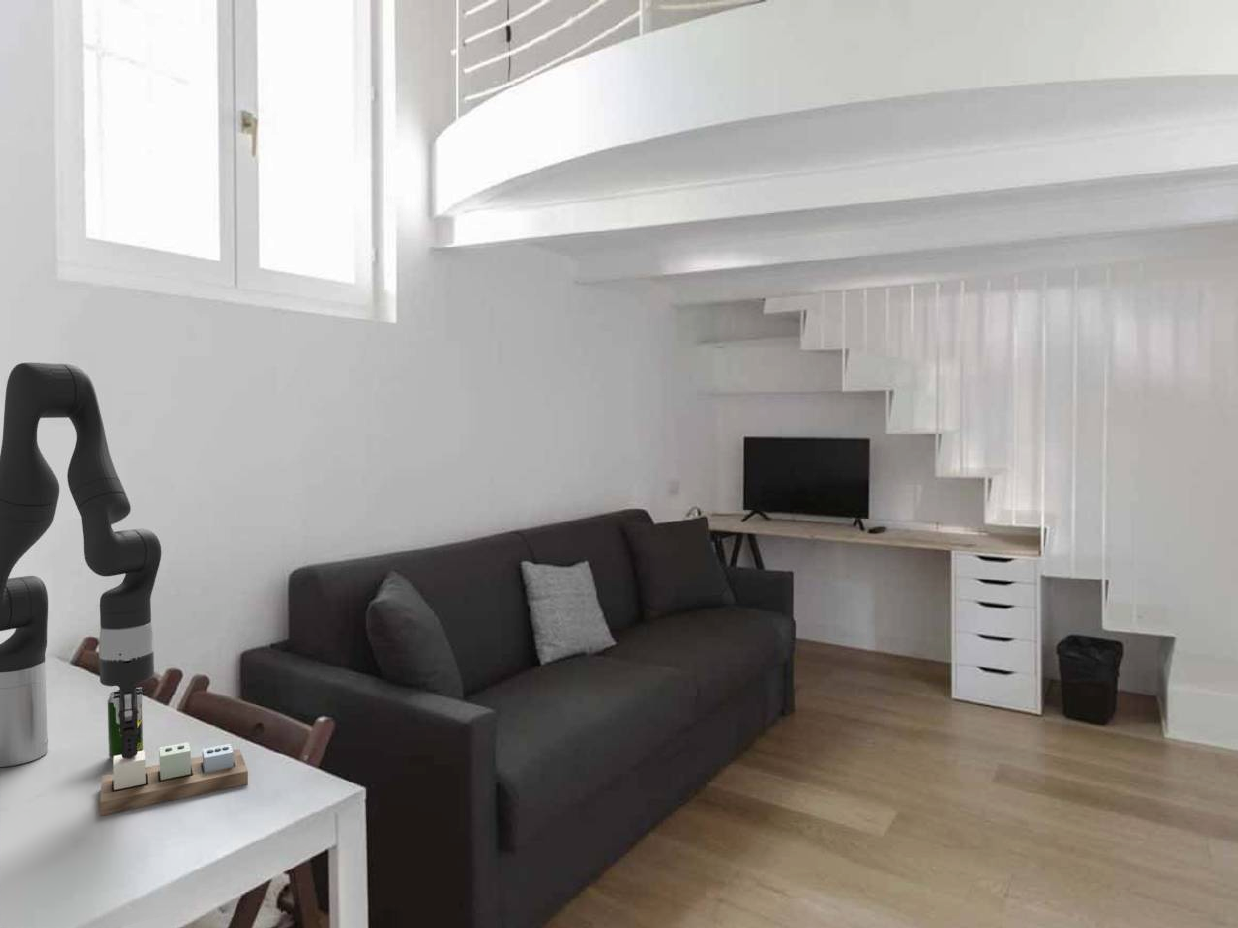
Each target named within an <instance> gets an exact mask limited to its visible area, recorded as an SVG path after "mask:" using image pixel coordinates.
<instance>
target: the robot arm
mask: <svg viewBox="0 0 1238 928" xmlns="http://www.w3.org/2000/svg"><path fill="white" fill-rule="evenodd" d="M4 399H5V400H4V409H3V410H4V414H3V427H2V441H1V449H0V632H2V631H9V630H14V632H13V633H12V635H11V636H10V637H9V638H7V639H6V640H4V641H3V642H1V643H0V768H4V767H5V768H6V767H13V766H18V765H22V764H27V763H29V762H32V761H35V760H37V759H40V758H41V757H43V756H45V755H46V754H48V751H49V737H48V733H49V732H48V703H47V701H48V700H47V699H48V697H47V671H46V669H47V668H46V667H47V665H46V662H47V661H46V653H47V652H46V651H47V647H48V627H49V626H48V623H49V622H48V621H49V620H48V619H49V595H48V589H47V586H46V584H45V582H44V581H43V580H42V579H41V578H40V577H38V576H35V575H26V576H18V577H10V575H11V572H12V570H13V568H14V567H15V566H16V564H17V563H18V561H19V560H20V559H21V558H22V557H23V556H24V554H26V553H27V551H29V550H30V549H31V548H32V547H33V546H34V545H35V544H36V543H37V542H38V541H39V540H40V539H41V537H43V536H44V534H46V532H47V531H48V530H49V529H50V527H51V525H52V524H53V522H54V519H55V515H56V511H57V505H58V502H59V501H58V500H59V496H60V484H59V480H58V479H57V476H56V474H55V473H54V470H53V469H52V467H51V466H50V465H49V463H48V461H47V460H46V458H45V457H44V455H43V453H42V452H41V449H40V447H39V443H38V428H39V423H40V420H41V419H51V418H52V419H53V418H54V419H56V418H57V419H58V418H59V419H61V418H68V419H69V420H70V421H71V423H72V425H73V427H74V429H75V433H76V442H75V447H74V448H73V449H74V450H73V452H72V455H71V459H70V460H69V461H70V462H69V464H68V469H67V476H66V477H67V479H66V480H67V485H68V488H69V492H70V494H71V496H72V499H73V501H74V503H75V506H76V508H77V511H78V513H79V515H80V518H81V525H82V535H83V538H82V539H83V555H84V561H85V563H86V565H87V567H88V568H89V569H90V570H91V571H92V573H94V574H96V575H98V576H100V577H115V576H120V575H124V577H123V580H122V582H121V583H120V584H118V586H115V587H113V588H110V589H109V590H108V589H107V591H105V592H103V593H102V594H101V596H100V599H99V617H100V628H99V630H100V632H99V638H98V639H99V640H98V651H99V653H98V656H99V660H98V661H99V682H100V683H101V684H102V685H103V686H105V687H118V688H119V689H118V690H119V691H116V690H114V707H115V708H116V723H117V724H120V728H119V734H120V736H121V753H122V758H128V757H133V756H136V755H137V733H138V731H139V728H138V721H139V720H140V719H141V703H142V704H143V688H142V687H137V685H138V684H139V683H144V682H146V681H149V680H150V679H152V678H153V677H154V675H155V661H154V660H155V656H154V655H155V654H154V650H155V649H154V633H153V627H152V609H151V598H152V593H153V589H154V587H155V584H156V583H155V582H156V578H157V576H158V575H157V574H158V573H159V572H158V571H159V568H160V565H161V564H160V563H161V560H162V547H161V546H162V545H161V542H160V540H159V538H158V536H157V535H156V534H155V533H154V532H153V531H151V530H150V529H147V528H136V529H135V528H133V529H126V530H118V531H114V529H113V528H112V525H113V524H116V523H118V522H121V521H123V520H125V519H126V518H127V517H128V516H129V515H130V513H131V510H132V509H131V508H132V507H131V503H130V500H129V498H128V495H127V493H126V492H125V489H124V486H123V484H122V482H121V480H120V478H119V475H118V473H117V471H116V468H115V466H114V463H113V460H112V457H111V454H110V450H109V445H108V441H107V440H108V439H107V436H106V431H105V426H104V422H103V418H102V414H101V409H100V405H99V401H98V397H97V393H96V391H95V387H94V384H93V382H92V380H91V378H90V376H89V374H88V372H87V371H86V370H85V369H84V368H82V367H80V366H79V365H75V364H69V363H68V364H67V363H50V362H49V363H48V362H47V363H46V362H45V363H44V362H43V363H41V362H21V363H18V364H16V365H15V366H13V368H12V369H11V372H10V374H9V376H8V379H7V383H6V388H5V398H4Z"/></svg>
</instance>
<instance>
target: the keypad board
mask: <svg viewBox="0 0 1238 928" xmlns="http://www.w3.org/2000/svg"><path fill="white" fill-rule="evenodd" d="M233 755H234V767H232V768H227V769H222V770H217V771H212V772H208V773H203V755H202V756H196V757H191V774H189V775H184V776H179V777H174V778H169V779H165V780H161V778H160V764H156V765H151V766H146V783H145V784H140V785H136V786H131V787H126V788H121V789H116V790H114V773H112V774H111V773H110V774H105V775H102V776H101V780H100V781H101V783H100V784H101V785H100V800H99V804H100V805H99V807H100V808H99V810H100V811H99V812H100V817H102V816H103V817H104V816H106V815H111V814H115V813H121V812H125V811H129V810H133V809H134V808H135V809H139V808H143V807H148V806H152V805H157V804H160V803H166V802H171V801H176V800H180V799H183V798H188V797H194V796H198V795H203V794H207V793H212V792H216V791H221V790H224V789H231V788H233V787H239V786H243V785H248V784H249V775H248V774H249V772H248V768H247V766H246V763H245V760H244V756H243V754H242V751H241V749H240V748H236V749H233ZM135 809H134V810H135Z"/></svg>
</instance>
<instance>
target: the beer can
mask: <svg viewBox="0 0 1238 928" xmlns="http://www.w3.org/2000/svg"><path fill="white" fill-rule="evenodd" d="M119 690H120V689H117V690H114V691H119ZM114 691H111V692H110V693H109V694H108V698H107V722H108V723H107V728H108V729H107V731H108V732H107V733H108V734H107V735H108V736H107V737H108V738H107V739H108V756H109V758H110V760H111V761H113V762H114V756H116V755H121V754H122V753H121V736H120V734H119V728H120V724H117V723H116V708H115V707H114ZM143 726H144V725H143V702H142V703H141V719H140V720H139V721H138V728H139V731H138V733H137V752H138V751H143V750H144V732H143V730H144V727H143Z"/></svg>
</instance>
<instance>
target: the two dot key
mask: <svg viewBox="0 0 1238 928" xmlns="http://www.w3.org/2000/svg"><path fill="white" fill-rule="evenodd" d="M158 753H159V756H158V757H159V765H160V778H161V780H165V779H169V778H174V777H179V776H184V775H189V774H191V758H192V757H191V756H192V755H191V753H192V752H191V747H190V742H189V741H186V742H181V743H175V744H171V745H165V746H161V747H158Z"/></svg>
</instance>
